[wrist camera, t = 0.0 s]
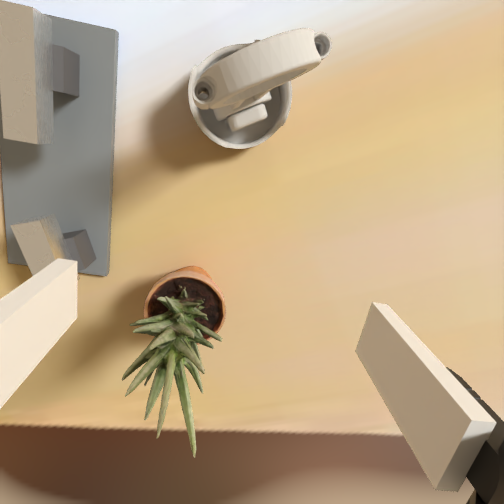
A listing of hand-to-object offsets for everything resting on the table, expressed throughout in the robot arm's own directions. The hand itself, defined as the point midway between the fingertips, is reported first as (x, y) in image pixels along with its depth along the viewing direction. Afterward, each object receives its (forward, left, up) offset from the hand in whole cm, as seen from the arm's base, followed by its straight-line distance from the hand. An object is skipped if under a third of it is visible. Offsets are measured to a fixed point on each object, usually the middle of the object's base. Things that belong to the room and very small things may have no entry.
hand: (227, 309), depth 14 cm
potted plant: (+13, -3, -28) cm, 31 cm away
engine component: (-11, 0, -28) cm, 30 cm away
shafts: (-1, -19, -24) cm, 30 cm away
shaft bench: (-1, -20, -28) cm, 35 cm away
